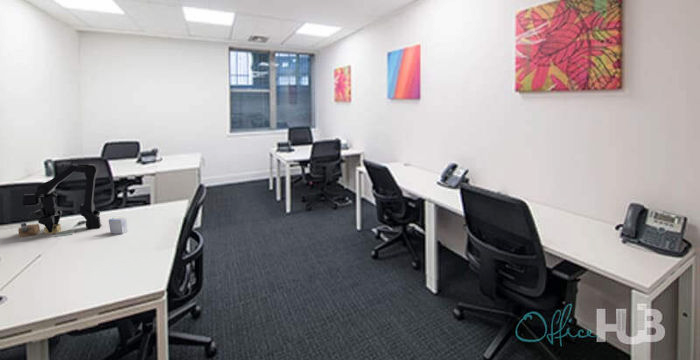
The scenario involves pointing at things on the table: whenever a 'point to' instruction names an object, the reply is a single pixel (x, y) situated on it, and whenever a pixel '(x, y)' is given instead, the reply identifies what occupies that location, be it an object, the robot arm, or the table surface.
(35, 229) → the plane block
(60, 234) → the glass plate
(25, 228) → the lever
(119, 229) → the medicine box
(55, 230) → the brass block
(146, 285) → the table surface
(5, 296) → the table surface
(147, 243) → the table surface
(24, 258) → the table surface
